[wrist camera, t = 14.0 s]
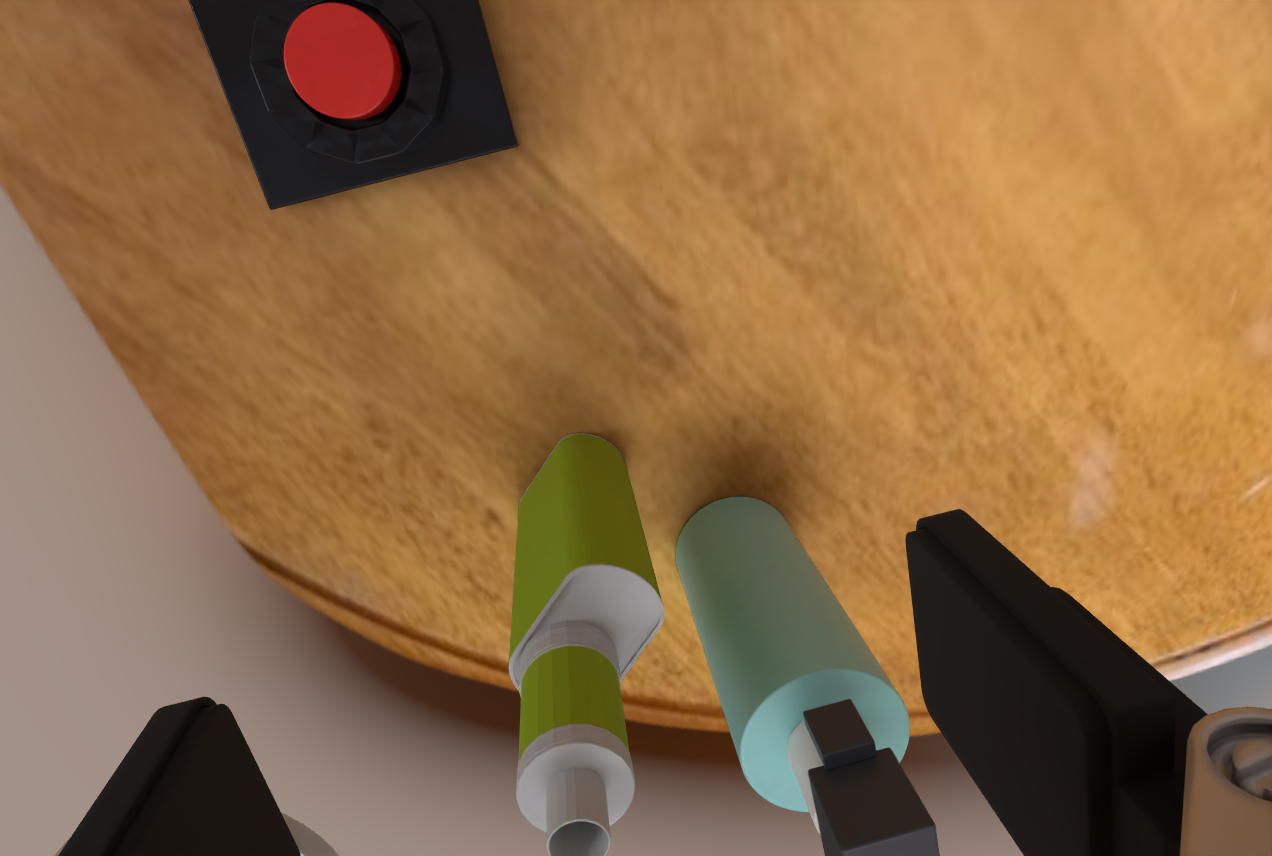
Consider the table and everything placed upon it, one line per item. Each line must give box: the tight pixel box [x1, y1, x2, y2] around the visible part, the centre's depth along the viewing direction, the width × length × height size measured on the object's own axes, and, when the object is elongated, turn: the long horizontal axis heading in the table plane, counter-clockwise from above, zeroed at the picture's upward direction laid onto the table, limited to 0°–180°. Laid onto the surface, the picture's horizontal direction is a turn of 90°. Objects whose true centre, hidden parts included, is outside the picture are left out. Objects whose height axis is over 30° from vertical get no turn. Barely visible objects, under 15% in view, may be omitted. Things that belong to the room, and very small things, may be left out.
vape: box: [509, 433, 664, 856], centre depth 29 cm, size 4×6×20 cm, turn 146°
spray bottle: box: [675, 497, 940, 856], centre depth 31 cm, size 6×6×20 cm
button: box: [284, 3, 402, 120], centre depth 28 cm, size 4×4×2 cm
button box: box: [188, 0, 519, 210], centre depth 30 cm, size 10×8×4 cm
